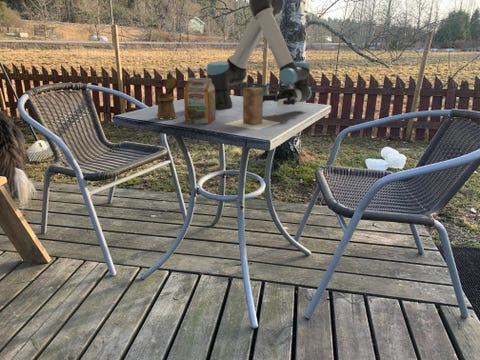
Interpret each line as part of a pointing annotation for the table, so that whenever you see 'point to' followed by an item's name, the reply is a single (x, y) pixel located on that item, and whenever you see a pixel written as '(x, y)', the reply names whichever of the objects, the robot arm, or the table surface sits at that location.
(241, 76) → the robot arm
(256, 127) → the beige square pad
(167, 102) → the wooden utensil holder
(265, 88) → the flower pot
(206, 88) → the milk carton
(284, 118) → the mat
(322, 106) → the table surface
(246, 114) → the walnut block
